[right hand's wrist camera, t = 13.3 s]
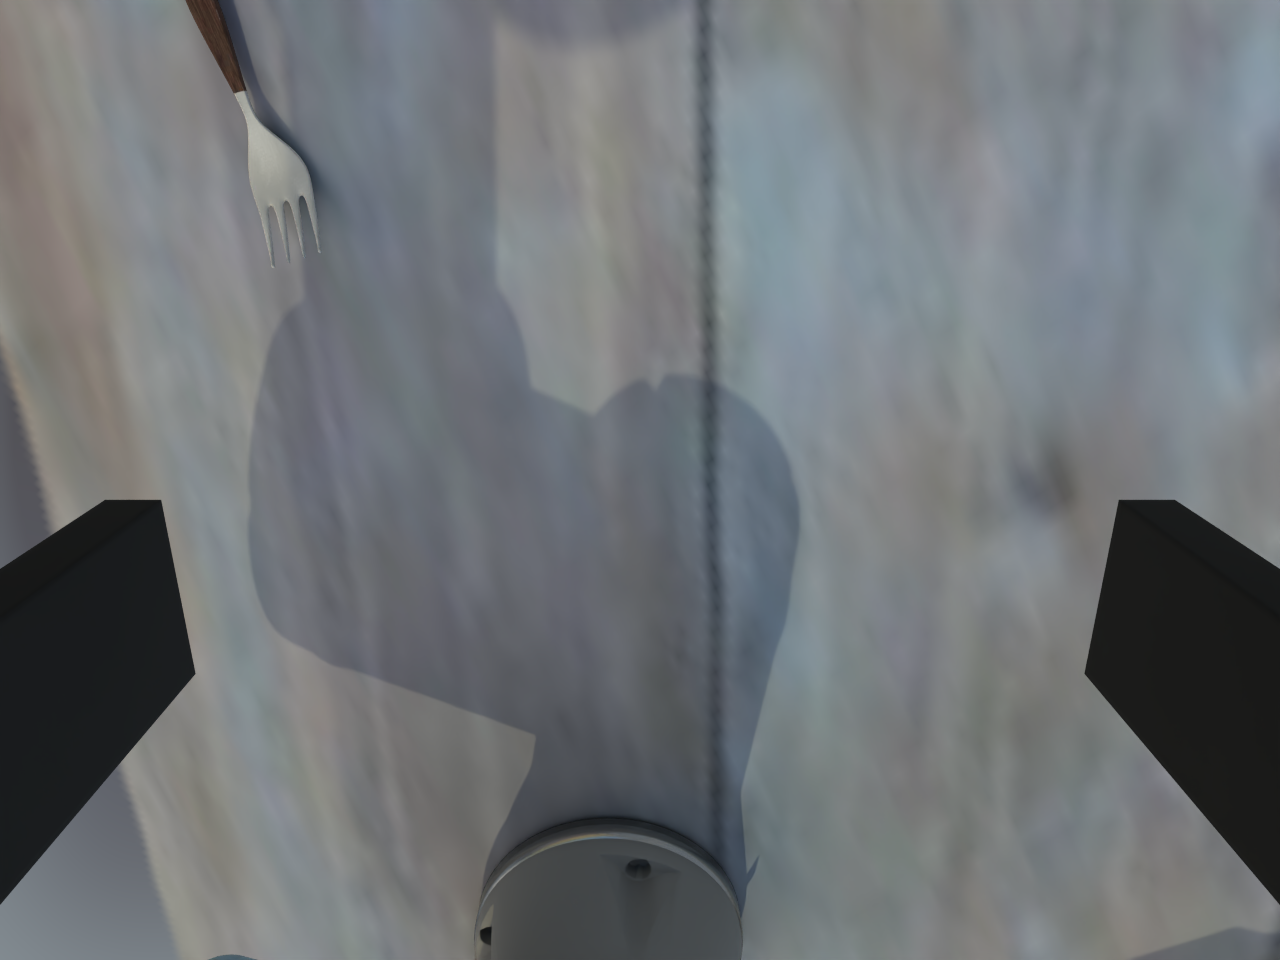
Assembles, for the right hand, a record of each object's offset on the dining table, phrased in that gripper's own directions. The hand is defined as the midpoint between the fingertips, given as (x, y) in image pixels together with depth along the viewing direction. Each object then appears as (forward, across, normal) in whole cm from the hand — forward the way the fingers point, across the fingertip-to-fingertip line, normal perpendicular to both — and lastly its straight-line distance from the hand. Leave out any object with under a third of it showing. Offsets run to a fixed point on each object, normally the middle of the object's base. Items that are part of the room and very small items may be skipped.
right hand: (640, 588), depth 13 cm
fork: (+29, +17, -9) cm, 35 cm away
